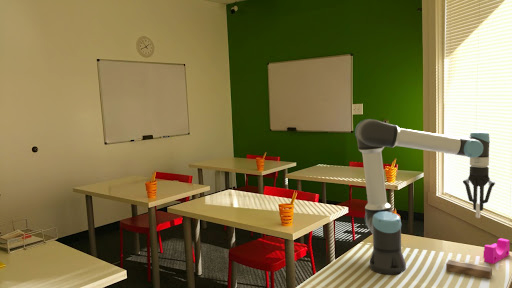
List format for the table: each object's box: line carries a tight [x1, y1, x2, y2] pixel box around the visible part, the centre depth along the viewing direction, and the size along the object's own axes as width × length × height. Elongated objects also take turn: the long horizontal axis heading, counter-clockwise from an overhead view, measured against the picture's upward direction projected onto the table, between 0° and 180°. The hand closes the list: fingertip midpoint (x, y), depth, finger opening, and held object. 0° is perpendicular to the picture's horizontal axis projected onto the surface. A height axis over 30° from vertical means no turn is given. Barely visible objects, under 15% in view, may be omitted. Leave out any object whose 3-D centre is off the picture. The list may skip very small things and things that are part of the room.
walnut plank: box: [445, 259, 493, 280], centre depth 165 cm, size 16×5×3 cm, turn 52°
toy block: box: [483, 237, 510, 265], centre depth 179 cm, size 15×6×8 cm, turn 125°
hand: (478, 217), depth 184 cm, fingers closed
